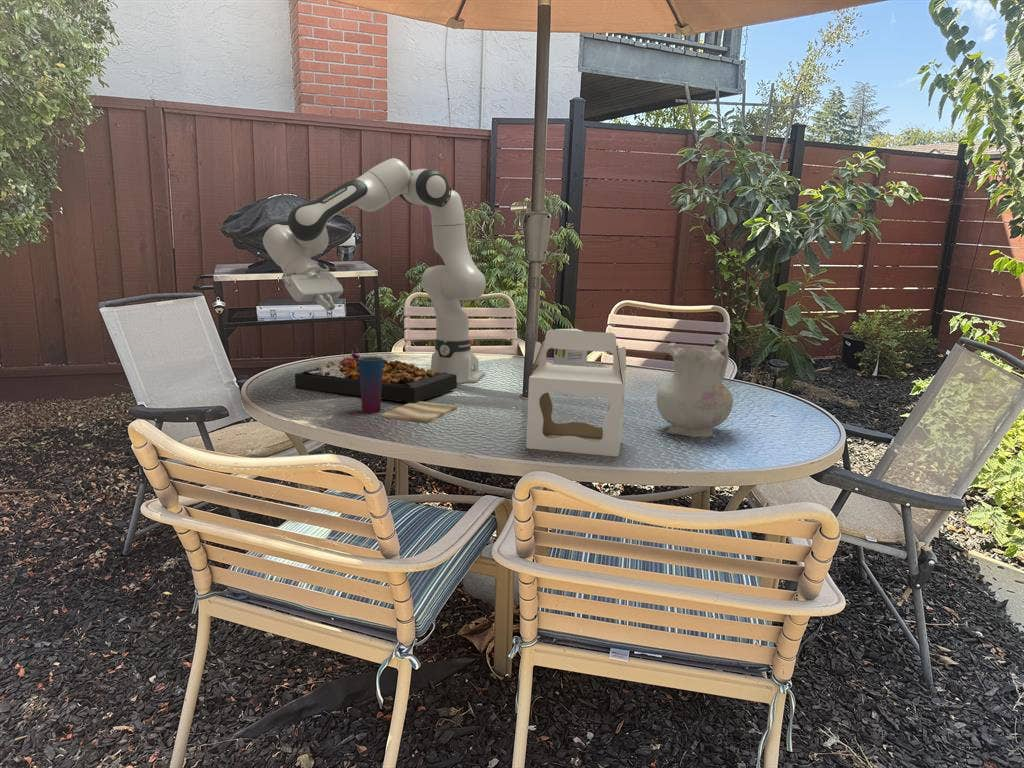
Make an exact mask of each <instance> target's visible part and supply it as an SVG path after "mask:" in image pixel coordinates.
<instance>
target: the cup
mask: <svg viewBox="0 0 1024 768" xmlns="http://www.w3.org/2000/svg"><path fill="white" fill-rule="evenodd" d="M383 360H384V358H383V357H380V356H371V355H370V356H364V357H362V356H361V357H360V358H358V361H359V374H360V388H361V396H360V397H361V411H363V412H362V413H364V412H365V414H377V413H380V412H381V409H382V408H381V406H382V405H381V404H382V399H381V391H382V373H383Z"/></svg>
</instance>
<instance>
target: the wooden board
mask: <svg viewBox="0 0 1024 768" xmlns="http://www.w3.org/2000/svg"><path fill="white" fill-rule="evenodd" d="M456 410H458V405H451V404H443V403H438V402H437V403H436V402H428V401H419V402H416V403H410V402H407V403H405V404H403V405H400V406H398V407H396V408H393V409H391V410H388V411H386V412H383V413H382V414H381V417H382V418H387V419H388V418H390V419H396V420H404V421H411V422H417V423H424V424H429V423H431V422H434V421H435V420H437V419H439V418H441V417H443V416H446V415H447V414H450V413H451V412H454V411H456Z"/></svg>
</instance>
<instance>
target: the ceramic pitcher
mask: <svg viewBox="0 0 1024 768" xmlns="http://www.w3.org/2000/svg"><path fill="white" fill-rule="evenodd" d="M676 343H677V342H670V343H667V346H668V352H669V354H670V356H671V357H672V358H673V359H672V361H673V364H674V373H673V375H672V376H671V378H669V379H668V380H667V381H665V382H664V383H661V384H660V385H659V386H658V388H657V391H656V407H657V409H658V412H659V413H660V415H661V417H662V419H664V421H666V422H667V423H669V424H670V425H671V426H670V427H669V428H668V429H667V430H666V433H667V434H671V435H679V436H687V437H690V438H691V437H692V438H695V439H696V438H698V439H702V438H713V437H714V431H713V430H712V429H713V428H715V427H718V426H720V425H721V424H723V423H724V422H725V421H726V420H727V419H728V418H729V416H730V414H731V412H732V409H733V405H734V398H733V394H732V392H731V391H730V389H728V388H727V387H726V386H725V385H724V384H723V380H724V378H725V376H726V371H727V367H728V363H729V356H730V352H729V348H728V344H726V340H725V339H724V338H722V337H719V338H715V339H714V345H713V348H711V349H710V350H702V349H700V348H698V347H694V348H690V349H686V350H685V349H684V348H681V347H678V348H677V344H676Z"/></svg>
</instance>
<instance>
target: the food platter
mask: <svg viewBox="0 0 1024 768" xmlns="http://www.w3.org/2000/svg"><path fill="white" fill-rule="evenodd" d="M356 351H357V353H355V352H350V356H346V357H345V355H344V353H343V352H342V353H341V355H342V357H343V358H342V359H341V360H339V361H336V360H333V361H332V360H331V361H325V362H324V363H322V364H320V365H318V366H316V368H312V369H308V370H307V369H306V370H304V371H302V372H299V373H295V375H294V388H295V387H296V389H301V388H303V389H302V390H309V391H310V390H311V391H317V392H326V393H333V394H343V395H349V396H356V397H357V396H358V397H361V388H360V374H359V361H358V358H360V357H365V356H364V355H363V356H361V355H360V353H359V350H358V348H356ZM457 384H458V383H457V376H456V375H455V374H448V373H446V372H445V373H436V372H434V371H433V370H431V368H429V369H427V370H425V368H423V367H421V368H419V367H418V366H415V364H413V363H410V364H408V363H407V362H402V361H400V360H389V362H388V361H387V360H386V359H383V373H382V391H381V400H386V401H387V400H388V401H395V402H403V403H416V402H419V401H421V402H423V401H425V400H427V399H430V398H433V397H435V396H438V395H441V394H445V393H447V392H449V391H453V390H456V389H457V386H458V385H457Z"/></svg>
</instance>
